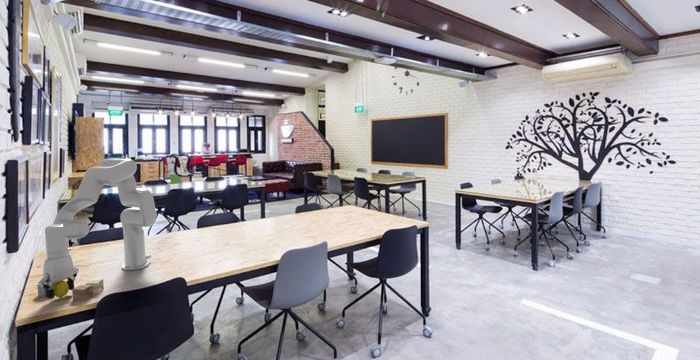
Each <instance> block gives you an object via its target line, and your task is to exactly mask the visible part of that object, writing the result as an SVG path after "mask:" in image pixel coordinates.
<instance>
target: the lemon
mask: <svg viewBox="0 0 700 360" xmlns="http://www.w3.org/2000/svg"><path fill="white" fill-rule="evenodd" d="M52 289H54V298H55V297H56V298H59V299H63V298H64V297H65V296H67V295H68V293H69V291H70V290H69V287H68V284H67V281H66V280H62V281H59V282H57V283H55V284H54V286H53V288H52Z"/></svg>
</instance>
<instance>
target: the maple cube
mask: <svg viewBox="0 0 700 360" xmlns="http://www.w3.org/2000/svg"><path fill="white" fill-rule="evenodd" d="M85 285H93V295H95V294H101V293H102V291H104V290H105V287H104V286H105V285H104V278H94V279H93V278H92V279H91V278H90V280H88V281H87V282H86V283H85Z"/></svg>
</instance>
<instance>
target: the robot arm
mask: <svg viewBox="0 0 700 360" xmlns="http://www.w3.org/2000/svg"><path fill="white" fill-rule="evenodd" d="M137 170H138V165H137V163H136V162H135V160H133V159H131V158H130V159H129V158H113V157H112V158H104V159H102V160H101V161H100V163H99V166H91V167H89V168H87V169H86V170H85V173H84V175H83V176H82V177H83V178H82V179H81V182H80V184H79V186H78V189H77V191H76V193H75V195H74V197H72V198H71V199H70V200H69V201H68V202H66V204H65V205H63V206H62V207H61V208H60V209H59V210H58V212H57V214H56V216H55V218H54V221H53V224H50V225H48V226H46V227H45V229H44V235H45V249H46V250H45V251H46V258H45V259H44V263H43V268H42V269H43V270H42V271H43V272H42V278H41V279H40V280H39V281H38V284H39V285H40V286H41V287H42V288H44V289H46V297H45V298H46V299H49V300H50V299H52V300H53V299H55V296H54V289H52V288H53V286H54V284H55V283H57V282H59V281H62V280H63V281H66V282H67V284H68V287H69V290H68V291H72V289H74V288H75V280H76V277H77V276H78V273H79V270H80V269H79V268H78V267H74V263H73V258H72V256H71V254H70V251H71V250H72V249H71V248H70V244H69V241H70V240H75V239H76V240H77V239H81V238H85V237H86V236H87V235H88V234H89V232H90V229H91V228H90V226H89V224H88V223H87V222H86V221H82V220H73V219H74V217H75V215H76V214H78V213H79V212H80V211H81V210H84V209H85V208H88V207H90V206H92V205H95V204H96V203H97V202H98V199H99V197H100V195H101V192H102V189H103V187H104V186H114V185H116V187H117V191H118V196H119V201H120V203H121V205H122V206H124V207H128V208H125V209H123V210H122V212H121V213H120V216H119V217H120V222H121V226H122V233H123V252H124V263H123V264H122V265H121V269H122V270H125V271H135V270H140V269H145V268H147V267H148V266H149V265H150V263H149V261H147V260H149V259H151V258H152V255H151V254H147V255H146V246H145V245H146V244H145V243H146V242H145V232H144V229H143V228H146V227H147V228H149V227H153V226H155V224H156V222H157V210H156V205H155V204H156V203H155V200H154V196H153V194H152V192H151V191H150V190H148V189H145V188H139V187H138V186H137V182H136V178H135V176H134V175H135V174H136V173H137ZM45 283H46V284H45ZM50 283H51V284H50ZM38 284H37V285H38ZM49 284H50V286H49Z"/></svg>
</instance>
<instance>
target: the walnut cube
mask: <svg viewBox="0 0 700 360" xmlns="http://www.w3.org/2000/svg"><path fill="white" fill-rule="evenodd" d="M71 292H72V301H75V302H76V301H80V302H82V301H83V302H85V301H87V300H89V299H91V298H92V297H94V294H93V285H86V284H80V285H78V286H76V287H74V289H72V290H71Z"/></svg>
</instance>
